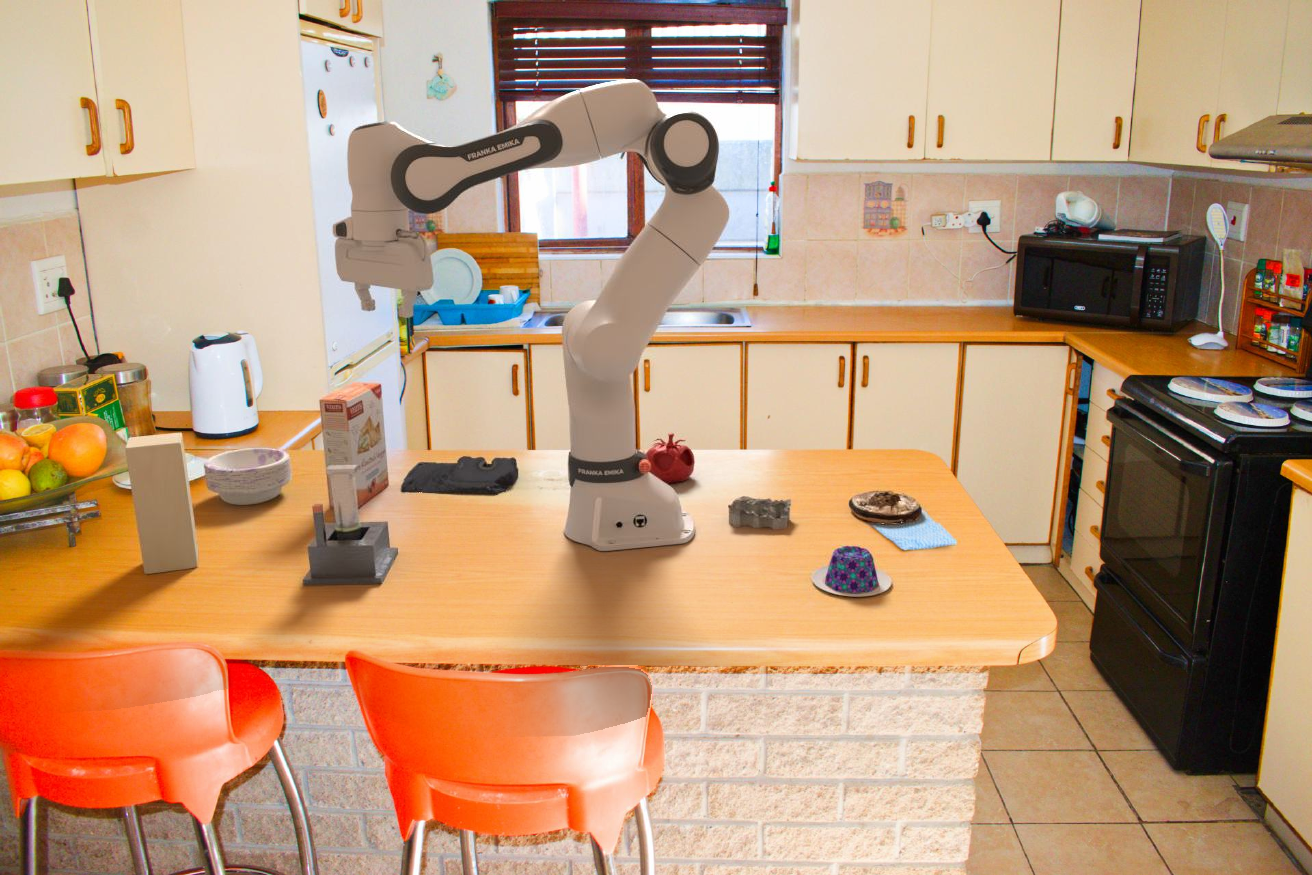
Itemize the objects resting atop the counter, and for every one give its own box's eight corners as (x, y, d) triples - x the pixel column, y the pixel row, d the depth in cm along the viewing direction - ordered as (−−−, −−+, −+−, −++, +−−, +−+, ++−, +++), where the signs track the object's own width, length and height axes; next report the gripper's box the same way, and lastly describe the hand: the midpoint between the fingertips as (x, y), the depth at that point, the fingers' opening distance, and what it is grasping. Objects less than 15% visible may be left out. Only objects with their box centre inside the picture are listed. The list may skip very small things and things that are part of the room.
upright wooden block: (200, 550, 175) (182, 430, 169) (199, 567, 168) (180, 442, 162) (148, 558, 172) (127, 436, 166) (144, 575, 165) (123, 448, 159)
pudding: (795, 585, 159) (796, 553, 158) (839, 561, 168) (840, 531, 166) (863, 608, 151) (865, 575, 150) (906, 582, 160) (908, 550, 158)
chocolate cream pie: (862, 533, 179) (863, 510, 178) (830, 503, 193) (831, 482, 192) (942, 526, 182) (943, 503, 181) (905, 497, 196) (906, 476, 195)
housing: (398, 553, 173) (391, 481, 169) (381, 583, 161) (374, 507, 157) (325, 554, 172) (317, 483, 169) (303, 585, 161) (294, 509, 157)
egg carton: (724, 527, 182) (724, 505, 181) (735, 512, 189) (735, 490, 188) (785, 533, 179) (785, 510, 178) (793, 517, 186) (793, 496, 185)
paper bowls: (305, 483, 207) (300, 445, 204) (276, 511, 192) (271, 470, 190) (228, 484, 207) (223, 446, 205) (194, 511, 193) (188, 470, 190)
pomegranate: (638, 474, 210) (636, 430, 207) (685, 468, 213) (684, 424, 210) (653, 489, 201) (651, 442, 198) (702, 482, 204) (701, 436, 201)
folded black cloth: (420, 469, 216) (418, 447, 214) (525, 471, 213) (523, 449, 212) (394, 495, 201) (392, 471, 200) (506, 498, 199) (505, 474, 197)
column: (368, 556, 168) (359, 462, 164) (362, 565, 164) (352, 470, 160) (341, 556, 168) (330, 463, 164) (334, 566, 164) (323, 471, 160)
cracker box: (358, 510, 192) (347, 400, 186) (328, 508, 193) (316, 399, 187) (391, 485, 205) (382, 381, 199) (363, 483, 206) (353, 380, 200)
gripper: (440, 230, 163) (445, 318, 167) (357, 222, 175) (363, 304, 179) (408, 233, 159) (414, 323, 163) (325, 225, 170) (332, 309, 174)
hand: (387, 313), depth 171 cm, fingers open, 8 cm apart
